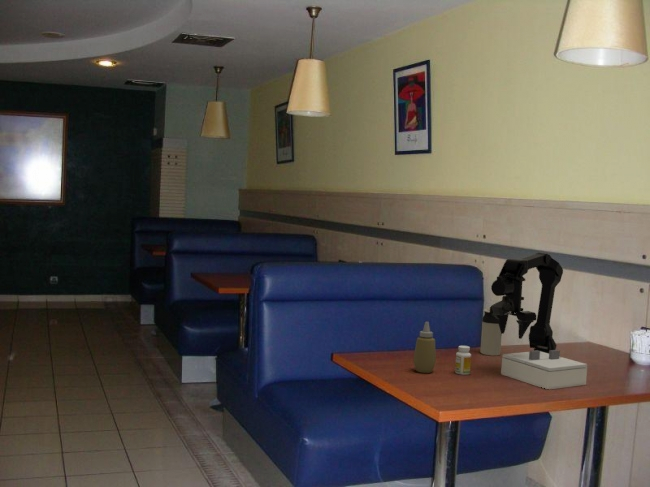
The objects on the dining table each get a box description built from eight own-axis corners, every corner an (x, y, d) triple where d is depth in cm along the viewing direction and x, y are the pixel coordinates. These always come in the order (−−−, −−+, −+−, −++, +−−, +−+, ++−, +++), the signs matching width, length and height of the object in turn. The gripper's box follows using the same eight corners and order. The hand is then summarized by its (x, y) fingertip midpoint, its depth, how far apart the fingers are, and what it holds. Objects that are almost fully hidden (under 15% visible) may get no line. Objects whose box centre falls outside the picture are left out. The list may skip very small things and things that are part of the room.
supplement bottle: (471, 372, 267) (472, 346, 266) (468, 375, 262) (470, 348, 261) (456, 370, 269) (457, 344, 268) (453, 373, 264) (455, 347, 263)
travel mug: (479, 354, 299) (482, 310, 298) (481, 351, 307) (484, 308, 305) (499, 356, 297) (502, 312, 295) (500, 353, 304) (503, 309, 303)
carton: (538, 370, 277) (539, 354, 276) (585, 384, 258) (587, 367, 257) (500, 374, 267) (502, 357, 266) (547, 389, 248) (548, 372, 248)
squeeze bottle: (438, 370, 267) (441, 321, 266) (431, 375, 260) (434, 324, 259) (416, 367, 271) (419, 319, 269) (409, 371, 263) (412, 322, 262)
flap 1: (538, 353, 276) (539, 342, 276) (561, 359, 267) (562, 349, 266) (502, 356, 267) (503, 346, 266) (524, 363, 257) (525, 352, 257)
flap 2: (562, 360, 266) (563, 349, 266) (587, 367, 257) (587, 355, 257) (525, 363, 257) (526, 352, 257) (549, 371, 248) (550, 359, 247)
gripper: (479, 290, 272) (477, 332, 274) (515, 298, 256) (512, 343, 258) (502, 289, 278) (500, 330, 279) (538, 297, 262) (536, 340, 263)
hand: (511, 336), depth 270 cm, fingers open, 9 cm apart
